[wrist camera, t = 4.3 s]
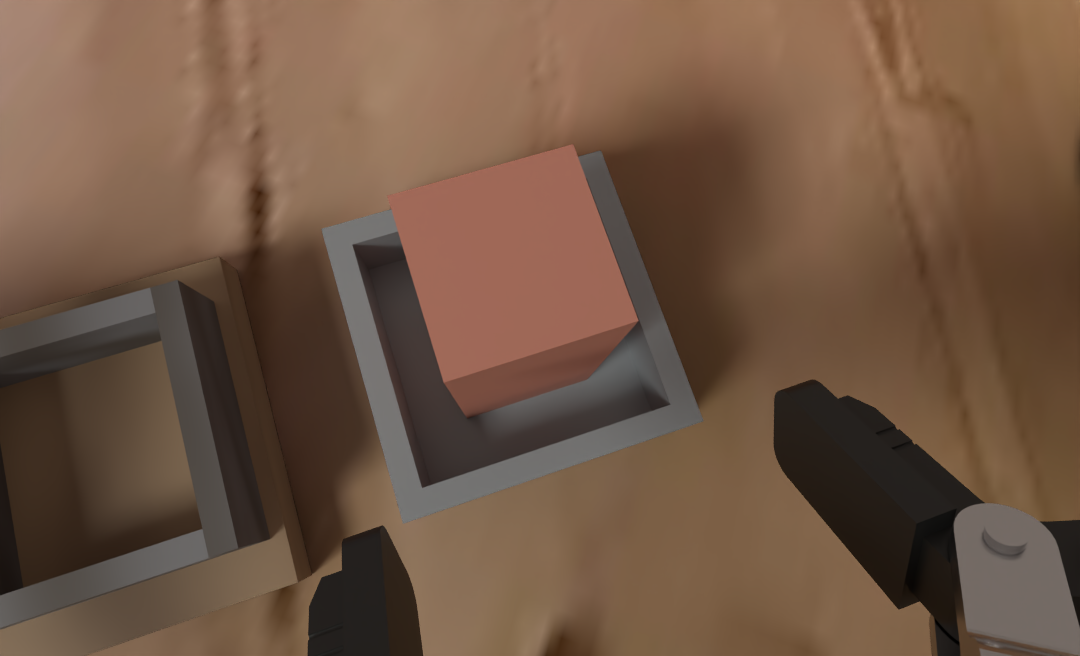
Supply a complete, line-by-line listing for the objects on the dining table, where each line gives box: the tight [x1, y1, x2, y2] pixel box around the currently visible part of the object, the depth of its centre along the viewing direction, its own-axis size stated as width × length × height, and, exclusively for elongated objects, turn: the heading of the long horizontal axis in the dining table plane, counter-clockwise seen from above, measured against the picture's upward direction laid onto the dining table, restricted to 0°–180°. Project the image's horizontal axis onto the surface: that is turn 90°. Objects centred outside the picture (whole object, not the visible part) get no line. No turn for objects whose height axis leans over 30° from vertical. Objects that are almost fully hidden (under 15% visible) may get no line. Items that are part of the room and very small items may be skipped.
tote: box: [322, 151, 703, 524], centre depth 22 cm, size 10×10×3 cm
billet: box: [387, 144, 639, 418], centre depth 19 cm, size 4×4×9 cm
